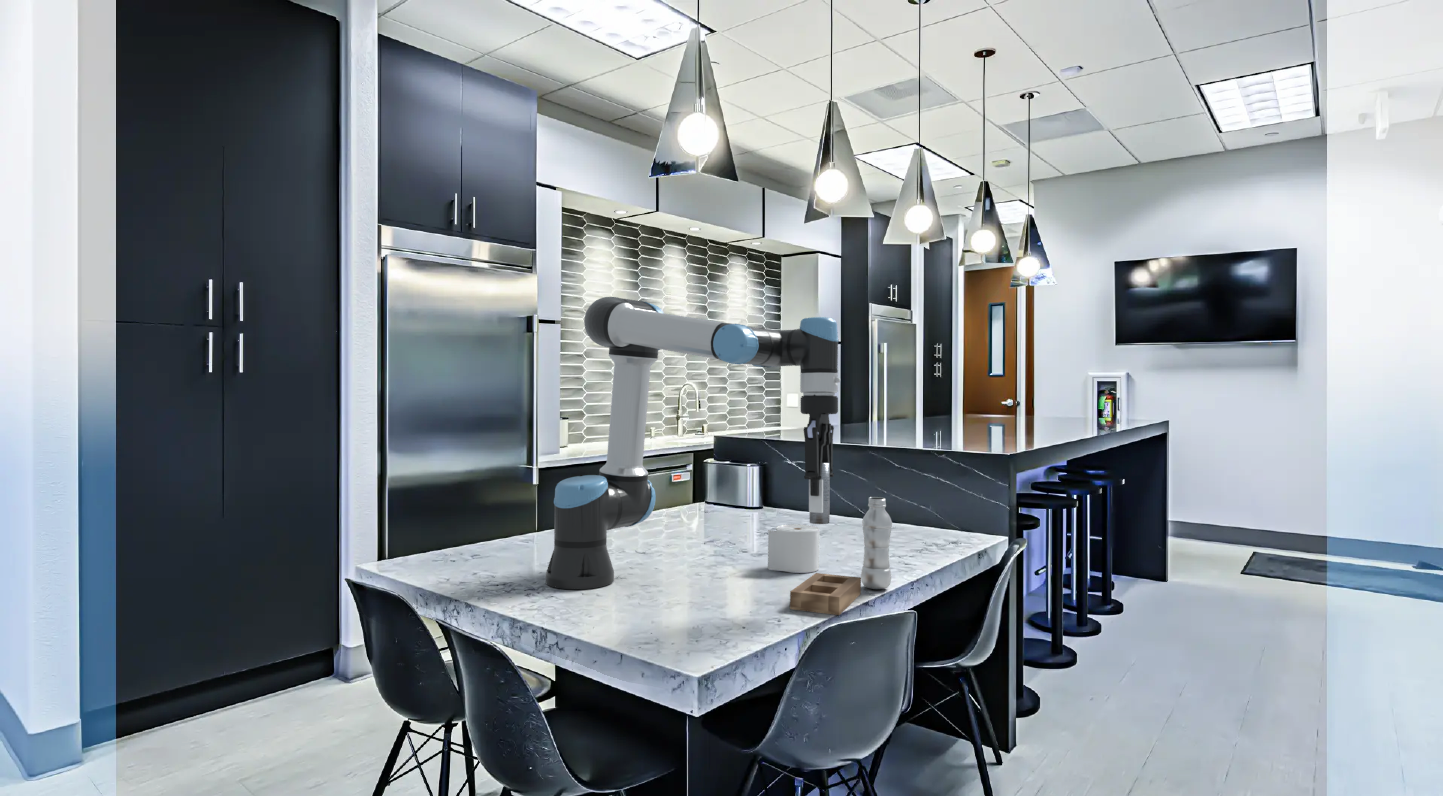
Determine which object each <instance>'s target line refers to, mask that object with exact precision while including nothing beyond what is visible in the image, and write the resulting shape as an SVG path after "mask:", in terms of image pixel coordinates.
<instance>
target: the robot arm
mask: <svg viewBox="0 0 1443 796" xmlns="http://www.w3.org/2000/svg"><path fill="white" fill-rule="evenodd" d="M583 324H584V330H585V332H586V334H587V336H588V337H589V338H590V339H591V341H592V342H594V343H595V344H596V345H599V346H601V347H604V348H608V356H609V358H610V359H611V360H612V361H613V364H614V366H613V379H612V392H611V403H610V416H609V417H610V418H609V429H608V431H609V432H608V441H607V453H606V463H605V464H604V465H602V467H600V468H599V473H598V474H597V475H596V474H587V475H585V474H584V475H582V476H580V475H577V476H572V477H568V478H565V479H562V480H561V481H559V482H558V483H556V486H555V489H554V498H553V504H554V505H553V506H554V507H553V509H554V513H553V514H554V515H553V516H554V517H553V518H554V519H553V520H554V522H553V523H554V526H553V529H554V530H553V531H554V533H553V535H554V537H553V539H554V541H553V542H554V544H553V551H552V554H551V557H550V560H549V562H548V566H547V570H546V571H545V584H546V585H547V586H549V587H552V588H555V589H563V590H589V589H596V588H603V587H606V586H609V585H610V584H612V583H614V582H615V570H614V566H613V564H612V561H611V560H612V559H611V557H610V554H609V551H608V548H607V546H608V545H607V543H608V541H607V533H608V532H607V531H609V530H611V531H612V530H615V529H620V528H628V527H629V528H630V527H634V526H635V525H638V524H640V523H643V522H644V521H646V520H647V519H648V518H649V517H650V516H651V514H652V513H653V511H654V508H655V505H656V497H657V496H656V489H655V488H654V487H653V483H652V482H651V481H650V480H649V479H648V478H649V472H648V470H647V469H646V468H645V467H644V465H643V463H644V450H645V439H646V437H645V436H646V427H647V426H646V425H647V414H648V413H647V412H648V403H649V402H648V401H649V389H650V380H651V379H650V377H651V367H652V365H653V364H654V363H655V362H657V361H658V357H659V351H660V350H664V351H670V352H673V353H680V354H684V355H686V354H687V355H691V356H697V357H702V358H708V359H713V360H719V361H723V362H725V363H728V364H732V365H752V366H753V367H758V368H759V367H760V368H771V367H772V368H773V367H790V366H791V367H793V366H795V367H797V366H798V367H800V368H799V369H800V375H799V377H800V380H799V386H800V388H799V391H800V393H802V396H801V397H800V413H801V414H802V415H809V417H808V423H807V425H806V426H804V428H803V436H804V478H803V479H805V480H808V512H809V513H810V512H816V513H823V480H821V478H822V476H821V475H822V462H826V463H829V493H830V490H831V487H830V479H831V478H834V476H835V473H834V472H833V463H834V461H833V459H834V456H833V454H834V449H833V448H834V431H835V430H834V429H835V427H834V425H833V424H832V423H831V422H830V415H836V414H838V412H839V397H838V396H837V395H835V394H837V393H838V392H839V390H838V388H839V387H838V386H839V383H840V382H841V378H840V377H838V374H839V373H838V371H839V370H838V369H839V368H838V360H839V358H838V357H839V335H838V333H839V332H838V322H837V321H836V319H834V318H832V317H826V316H824V317H821V316H814V317H813V316H812V317H805V318H802V319H801V320H800V324H799V328H796V329H778V330H777V329H770V328H761V327H755V326H750V325H745V324H740V323H729V322H724V321H715V320H709V319H703V318H697V317H690V316H684V315H676V314H670V313H664V311H663V310H662V309H661V308H660V307H659V306H657V305H656V304H653V303H650V302H647V301H642V300H636V299H629V298H621V297H617V296H604V297H601V298H598V299H597V300H595V301H593V302H592V303H591V304H590V305H589V306H588V308H587V309H586V312H585V315H584V321H583Z"/></svg>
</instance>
